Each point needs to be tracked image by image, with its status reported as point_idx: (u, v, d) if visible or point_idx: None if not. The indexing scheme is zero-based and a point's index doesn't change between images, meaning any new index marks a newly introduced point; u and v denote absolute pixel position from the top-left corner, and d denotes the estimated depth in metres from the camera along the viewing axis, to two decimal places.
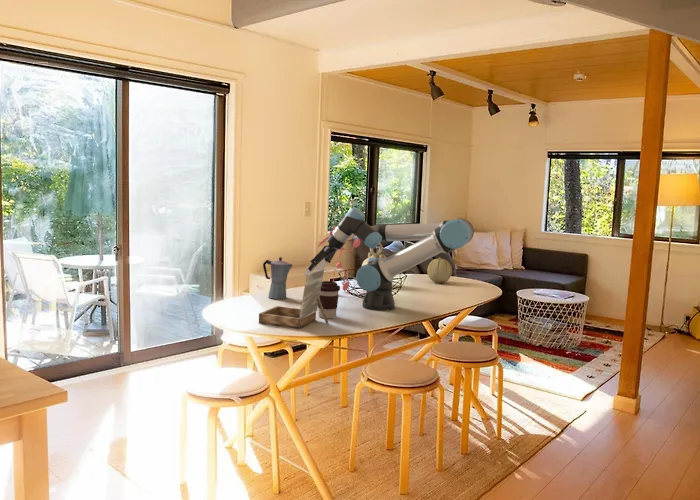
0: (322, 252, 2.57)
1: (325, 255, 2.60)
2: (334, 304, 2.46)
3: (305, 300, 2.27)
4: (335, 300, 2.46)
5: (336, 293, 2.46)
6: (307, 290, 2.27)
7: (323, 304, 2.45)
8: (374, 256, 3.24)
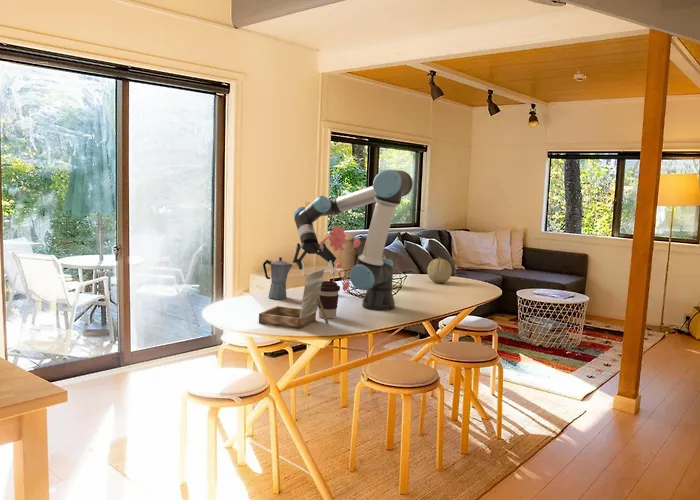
0: (296, 250, 2.61)
1: None
2: (334, 304, 2.46)
3: (305, 300, 2.27)
4: (335, 300, 2.46)
5: (336, 293, 2.46)
6: (307, 290, 2.27)
7: (323, 304, 2.45)
8: None
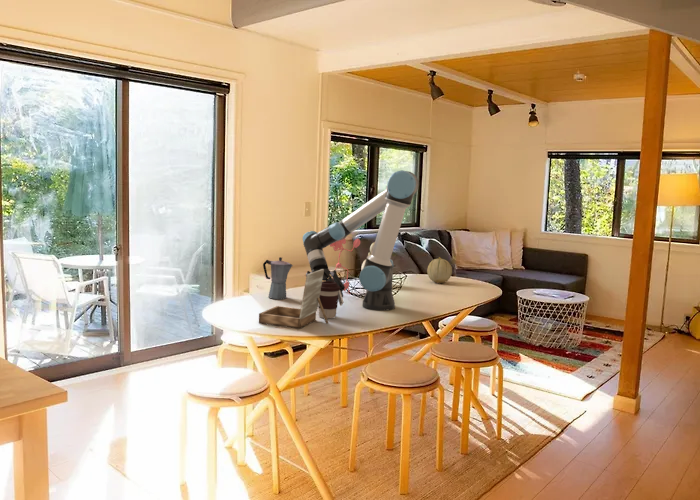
0: None
1: None
2: (334, 304, 2.46)
3: (305, 300, 2.27)
4: (335, 300, 2.46)
5: (336, 293, 2.46)
6: (307, 290, 2.27)
7: (323, 304, 2.45)
8: None
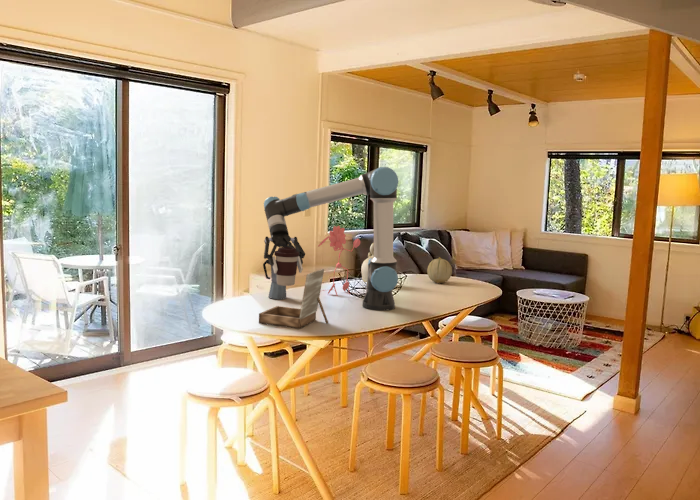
0: (265, 244, 2.39)
1: (274, 244, 2.39)
2: (293, 271, 2.34)
3: (305, 300, 2.27)
4: (293, 266, 2.34)
5: (294, 259, 2.34)
6: (307, 290, 2.27)
7: (280, 270, 2.33)
8: None
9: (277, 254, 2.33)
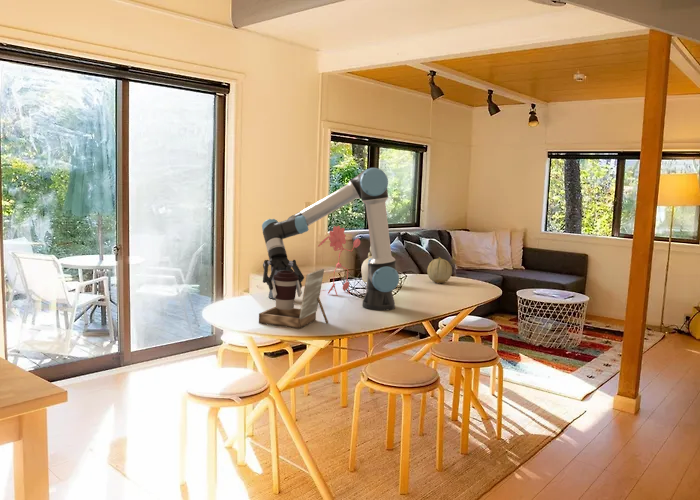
0: (264, 268, 2.39)
1: (273, 268, 2.39)
2: (292, 295, 2.34)
3: (305, 300, 2.27)
4: (292, 290, 2.34)
5: (293, 283, 2.34)
6: (307, 290, 2.27)
7: (280, 295, 2.33)
8: None
9: (276, 278, 2.33)
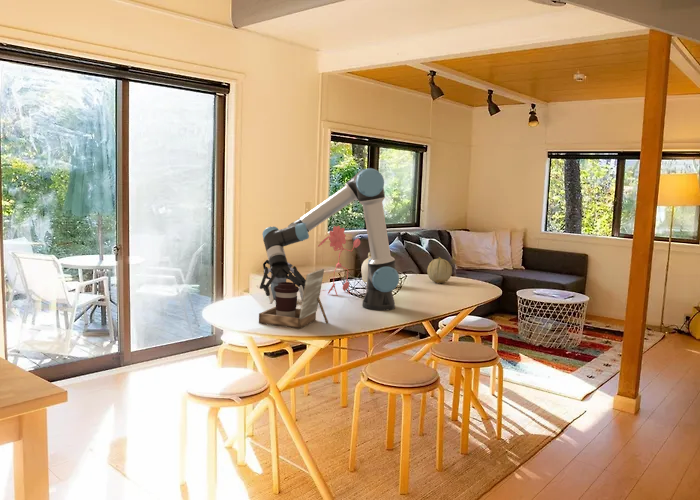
0: (264, 274, 2.40)
1: (272, 275, 2.39)
2: (293, 306, 2.35)
3: (305, 300, 2.27)
4: (293, 302, 2.35)
5: (294, 295, 2.35)
6: (307, 290, 2.27)
7: (280, 306, 2.34)
8: None
9: (277, 290, 2.33)
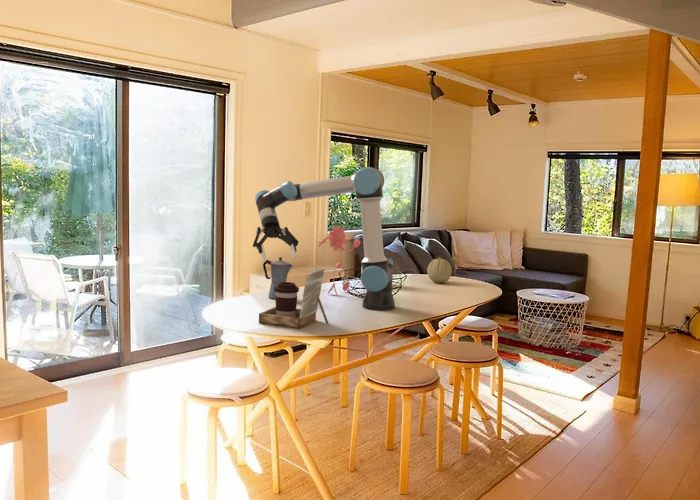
0: None
1: (265, 234, 2.52)
2: (293, 307, 2.35)
3: (305, 300, 2.27)
4: (293, 302, 2.35)
5: (294, 295, 2.35)
6: (307, 290, 2.27)
7: (280, 306, 2.34)
8: None
9: (277, 290, 2.33)
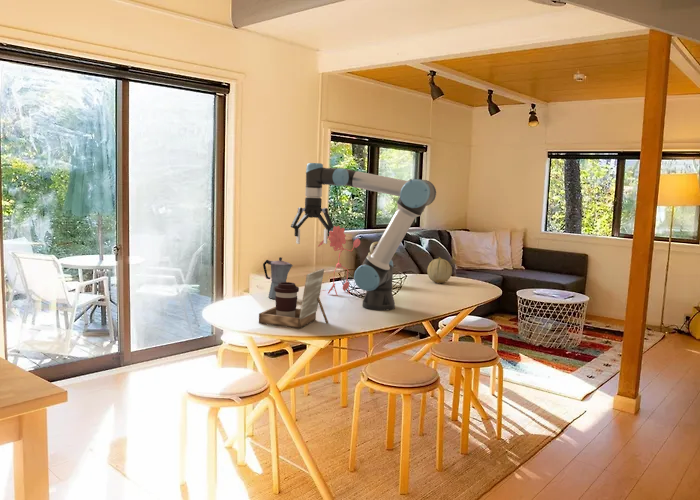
0: (297, 213, 2.63)
1: (305, 216, 2.64)
2: (293, 306, 2.35)
3: (305, 300, 2.27)
4: (293, 302, 2.35)
5: (294, 295, 2.35)
6: (307, 290, 2.27)
7: (280, 306, 2.34)
8: None
9: (277, 290, 2.33)
